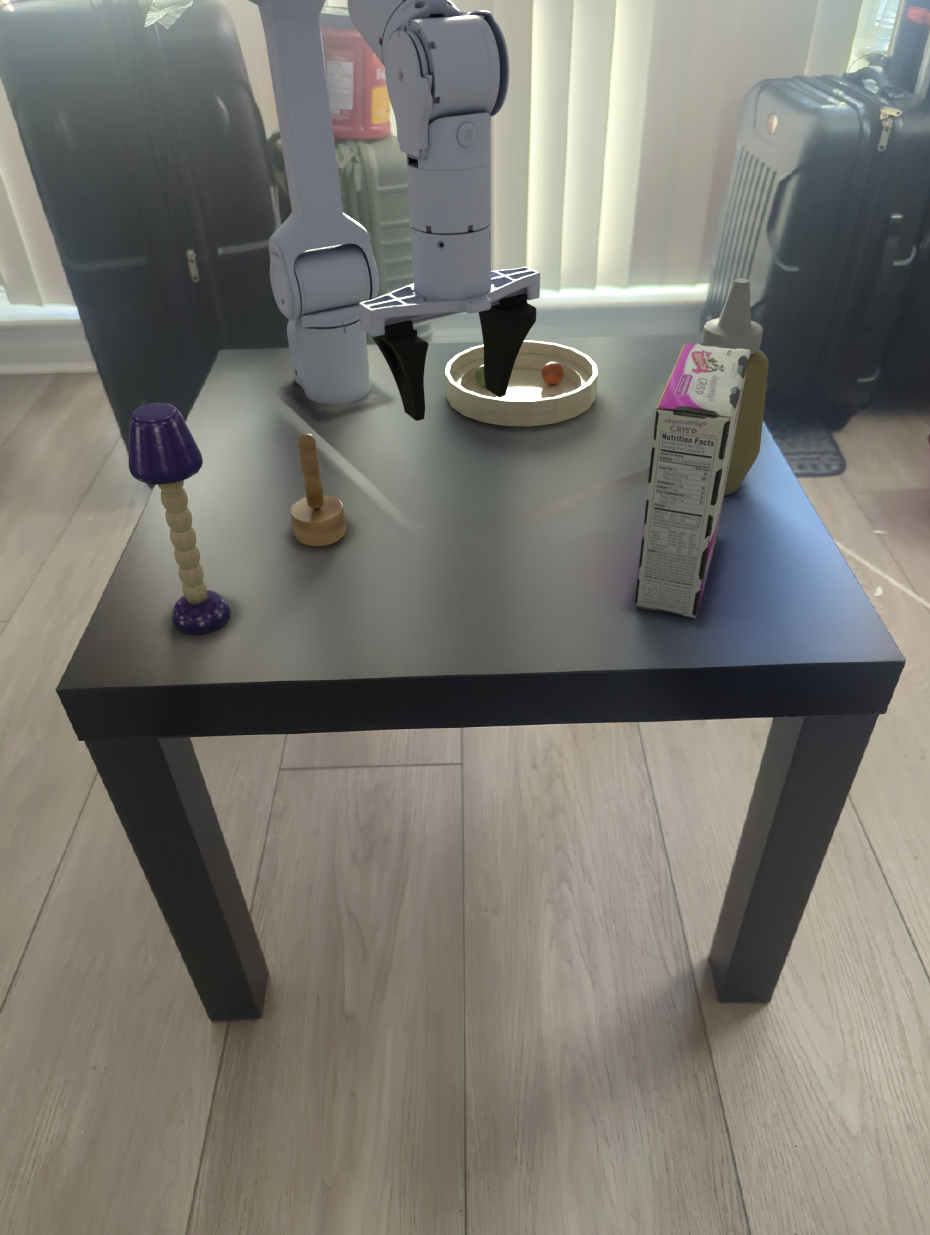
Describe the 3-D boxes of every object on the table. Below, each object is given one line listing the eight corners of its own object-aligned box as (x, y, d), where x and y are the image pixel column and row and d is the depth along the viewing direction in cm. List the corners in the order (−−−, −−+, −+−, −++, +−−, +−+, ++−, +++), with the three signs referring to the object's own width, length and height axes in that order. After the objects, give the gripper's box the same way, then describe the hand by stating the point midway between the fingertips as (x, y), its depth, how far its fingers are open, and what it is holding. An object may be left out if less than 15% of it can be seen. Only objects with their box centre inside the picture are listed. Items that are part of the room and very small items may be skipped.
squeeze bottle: (707, 453, 82) (741, 258, 71) (771, 489, 77) (819, 284, 65) (642, 476, 79) (667, 276, 68) (704, 515, 74) (742, 305, 62)
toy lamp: (229, 591, 67) (180, 389, 56) (246, 625, 63) (197, 417, 53) (167, 610, 65) (105, 405, 54) (181, 645, 62) (117, 434, 51)
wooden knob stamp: (286, 528, 73) (268, 430, 68) (333, 513, 75) (319, 416, 69) (306, 552, 70) (290, 452, 65) (354, 536, 72) (342, 437, 66)
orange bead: (536, 382, 94) (537, 361, 92) (554, 377, 95) (555, 356, 93) (549, 390, 92) (550, 368, 91) (567, 384, 93) (568, 363, 92)
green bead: (471, 384, 94) (470, 363, 92) (489, 379, 95) (489, 358, 93) (482, 392, 92) (482, 371, 91) (501, 387, 93) (501, 366, 92)
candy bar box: (656, 531, 72) (683, 339, 62) (716, 541, 70) (754, 347, 60) (628, 609, 64) (654, 403, 53) (696, 622, 62) (736, 414, 52)
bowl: (420, 391, 95) (418, 361, 92) (537, 359, 101) (538, 330, 99) (499, 448, 84) (499, 415, 82) (625, 408, 90) (629, 376, 88)
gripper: (384, 255, 55) (399, 446, 63) (567, 219, 60) (558, 399, 69) (338, 230, 59) (358, 411, 68) (512, 199, 65) (510, 370, 74)
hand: (456, 403), depth 69 cm, fingers open, 7 cm apart
